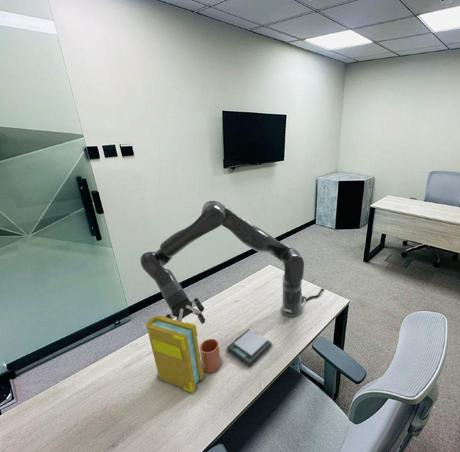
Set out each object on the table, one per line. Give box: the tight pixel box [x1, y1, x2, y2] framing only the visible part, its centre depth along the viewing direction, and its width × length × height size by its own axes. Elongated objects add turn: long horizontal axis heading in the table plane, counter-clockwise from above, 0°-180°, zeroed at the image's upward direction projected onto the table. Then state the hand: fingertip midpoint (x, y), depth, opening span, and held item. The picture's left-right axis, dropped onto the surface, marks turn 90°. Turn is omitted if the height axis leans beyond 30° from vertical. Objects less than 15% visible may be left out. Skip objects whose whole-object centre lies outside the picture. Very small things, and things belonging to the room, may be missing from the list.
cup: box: [199, 338, 222, 373], centre depth 103 cm, size 7×7×10 cm
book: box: [145, 315, 205, 394], centre depth 95 cm, size 17×7×25 cm, turn 71°
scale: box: [226, 328, 272, 367], centre depth 112 cm, size 13×13×3 cm
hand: (194, 329), depth 105 cm, fingers open, 8 cm apart
